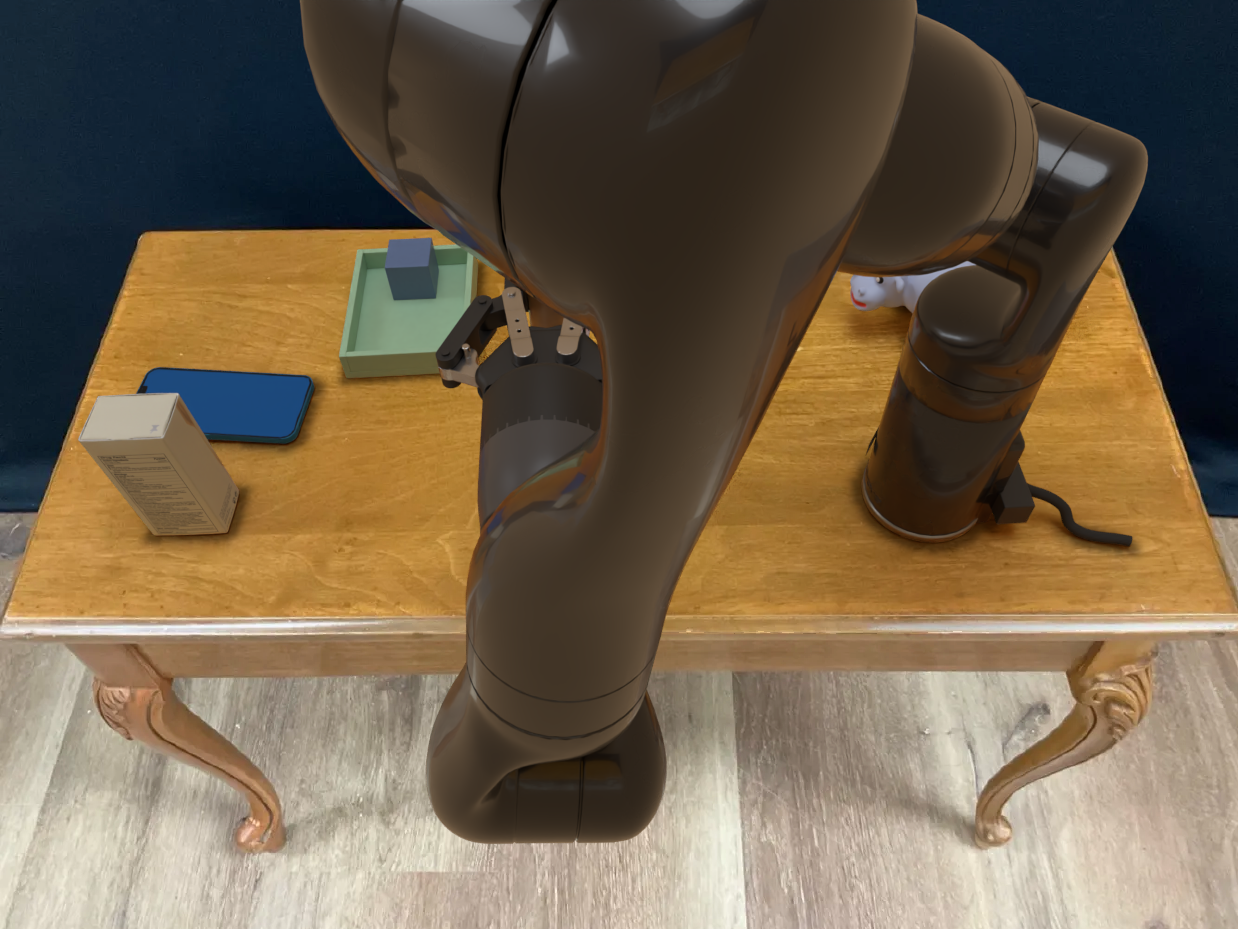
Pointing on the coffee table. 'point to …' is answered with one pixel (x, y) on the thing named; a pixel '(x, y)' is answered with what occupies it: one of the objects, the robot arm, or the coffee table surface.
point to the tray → (403, 316)
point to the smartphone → (237, 401)
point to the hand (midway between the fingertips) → (547, 260)
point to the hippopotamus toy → (891, 290)
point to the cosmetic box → (161, 463)
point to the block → (412, 268)
